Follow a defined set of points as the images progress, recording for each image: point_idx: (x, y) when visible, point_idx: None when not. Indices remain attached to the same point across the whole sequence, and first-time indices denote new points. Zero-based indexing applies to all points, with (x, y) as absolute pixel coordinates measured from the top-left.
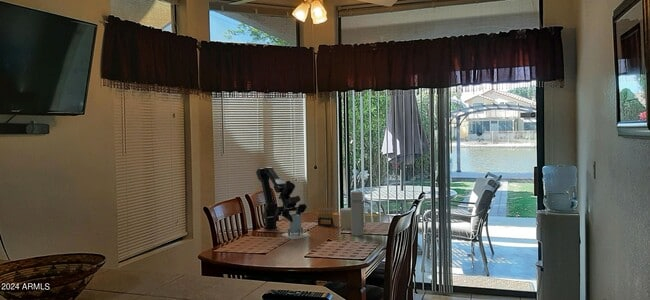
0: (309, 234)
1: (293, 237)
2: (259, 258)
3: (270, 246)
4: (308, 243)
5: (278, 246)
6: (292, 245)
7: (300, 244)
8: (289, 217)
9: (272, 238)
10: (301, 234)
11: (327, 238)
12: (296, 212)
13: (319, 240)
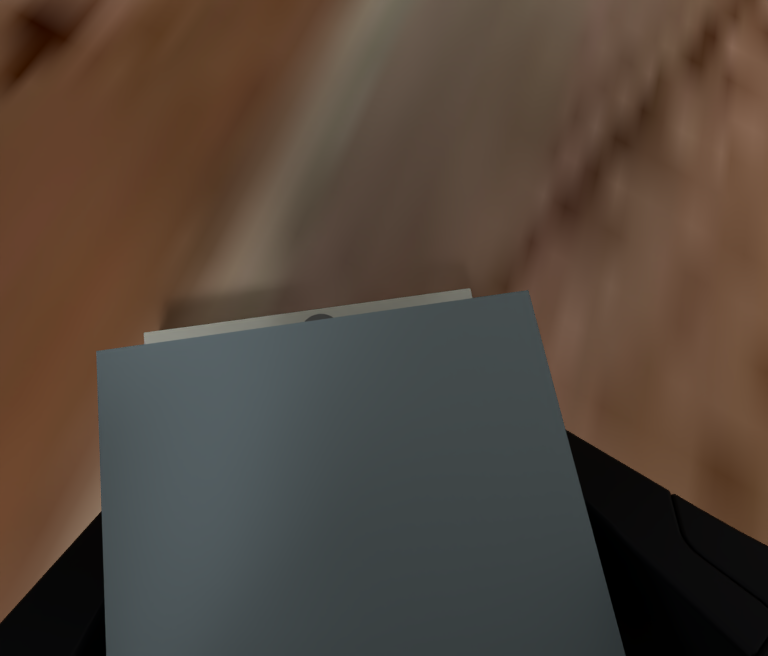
0: (144, 341)
1: (437, 293)
2: None
3: (745, 114)
4: (347, 22)
5: (670, 73)
6: (531, 37)
7: (442, 30)
8: (625, 483)
9: None
10: None
11: (2, 115)
12: None
13: (161, 76)
